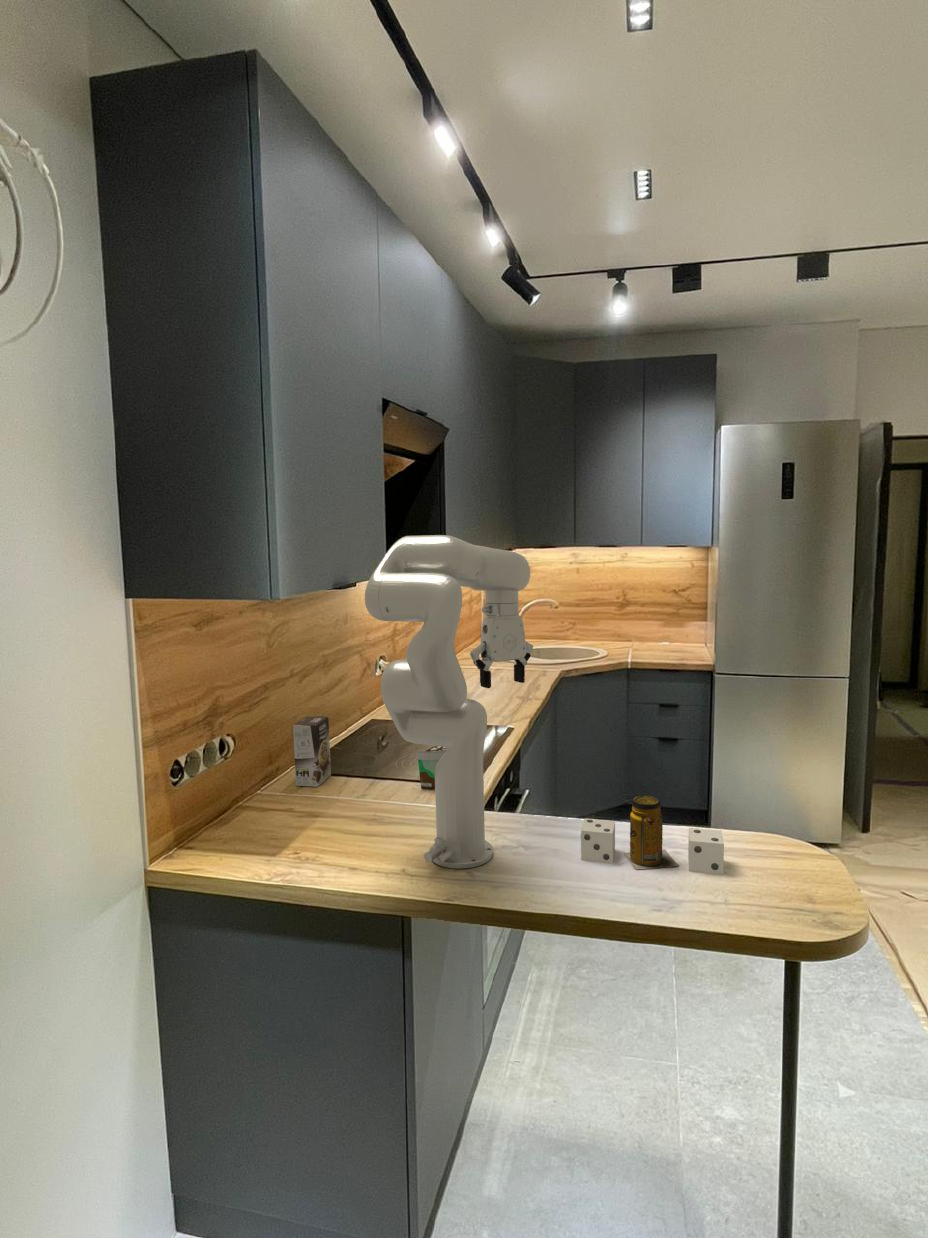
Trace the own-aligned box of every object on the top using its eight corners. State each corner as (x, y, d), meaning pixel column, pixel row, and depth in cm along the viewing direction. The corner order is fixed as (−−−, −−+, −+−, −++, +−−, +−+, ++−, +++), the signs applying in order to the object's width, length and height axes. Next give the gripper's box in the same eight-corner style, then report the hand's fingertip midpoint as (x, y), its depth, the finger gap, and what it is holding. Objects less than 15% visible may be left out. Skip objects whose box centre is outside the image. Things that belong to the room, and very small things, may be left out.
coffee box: (318, 787, 182) (315, 725, 180) (295, 786, 184) (291, 724, 182) (332, 775, 191) (329, 715, 189) (309, 774, 193) (306, 715, 191)
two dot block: (723, 875, 132) (724, 843, 131) (689, 872, 134) (689, 840, 133) (721, 860, 138) (721, 830, 137) (688, 857, 140) (688, 827, 139)
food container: (436, 795, 175) (435, 755, 174) (417, 790, 179) (415, 751, 178) (466, 780, 185) (465, 742, 184) (448, 776, 189) (447, 738, 187)
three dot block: (612, 863, 138) (612, 833, 137) (581, 860, 139) (580, 830, 139) (615, 850, 144) (615, 820, 143) (584, 847, 145) (584, 818, 144)
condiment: (623, 853, 142) (623, 794, 140) (665, 850, 143) (665, 792, 141) (635, 870, 135) (635, 809, 133) (679, 867, 135) (680, 806, 134)
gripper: (480, 614, 156) (481, 692, 158) (541, 609, 166) (542, 682, 168) (461, 612, 162) (462, 687, 164) (521, 606, 172) (521, 677, 174)
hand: (502, 684), depth 166 cm, fingers open, 9 cm apart
